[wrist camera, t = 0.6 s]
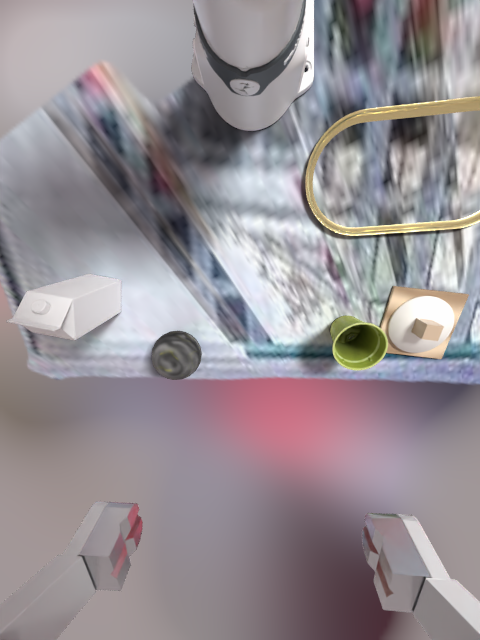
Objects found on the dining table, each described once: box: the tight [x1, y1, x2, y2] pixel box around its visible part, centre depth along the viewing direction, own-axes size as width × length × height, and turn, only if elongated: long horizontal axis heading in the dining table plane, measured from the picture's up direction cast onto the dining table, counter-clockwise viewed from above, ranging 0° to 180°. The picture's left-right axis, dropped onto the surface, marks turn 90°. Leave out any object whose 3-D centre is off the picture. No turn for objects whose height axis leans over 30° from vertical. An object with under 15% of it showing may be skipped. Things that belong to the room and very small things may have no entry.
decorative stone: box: [152, 331, 202, 380], centre depth 52 cm, size 10×10×10 cm
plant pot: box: [330, 316, 388, 370], centre depth 49 cm, size 9×9×9 cm
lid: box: [388, 296, 454, 353], centre depth 49 cm, size 12×12×4 cm
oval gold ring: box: [305, 96, 480, 236], centre depth 42 cm, size 19×35×2 cm, turn 94°
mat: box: [380, 286, 469, 359], centre depth 51 cm, size 14×14×1 cm
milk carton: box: [6, 274, 122, 340], centre depth 45 cm, size 7×7×19 cm
